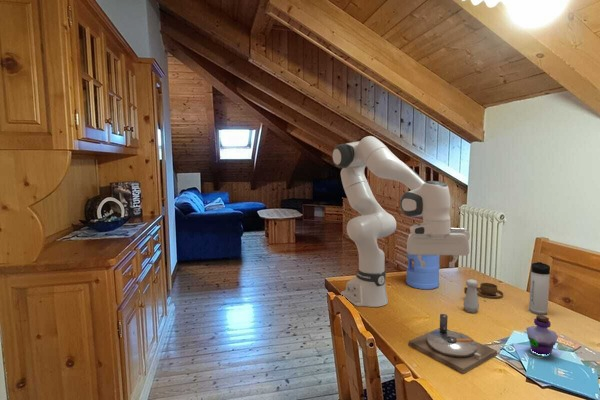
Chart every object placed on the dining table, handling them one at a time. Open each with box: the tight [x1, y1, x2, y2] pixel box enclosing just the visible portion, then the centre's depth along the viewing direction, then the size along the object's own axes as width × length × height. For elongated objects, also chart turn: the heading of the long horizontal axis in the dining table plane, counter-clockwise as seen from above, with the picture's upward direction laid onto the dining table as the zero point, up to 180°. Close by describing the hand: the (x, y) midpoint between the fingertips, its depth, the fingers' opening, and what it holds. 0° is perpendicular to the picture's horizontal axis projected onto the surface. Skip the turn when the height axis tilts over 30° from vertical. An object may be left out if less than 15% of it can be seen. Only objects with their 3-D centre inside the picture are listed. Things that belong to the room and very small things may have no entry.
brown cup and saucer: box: [463, 282, 504, 302], centre depth 165 cm, size 18×20×6 cm
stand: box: [408, 327, 498, 375], centre depth 117 cm, size 20×18×3 cm
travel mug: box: [528, 261, 551, 316], centre depth 144 cm, size 6×7×20 cm
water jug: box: [405, 252, 441, 290], centre depth 178 cm, size 16×16×28 cm
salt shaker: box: [463, 278, 480, 314], centre depth 146 cm, size 6×6×13 cm
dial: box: [427, 313, 477, 357], centre depth 116 cm, size 15×15×7 cm
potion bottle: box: [525, 314, 559, 355], centre depth 114 cm, size 9×9×12 cm
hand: (437, 267), depth 124 cm, fingers open, 8 cm apart
